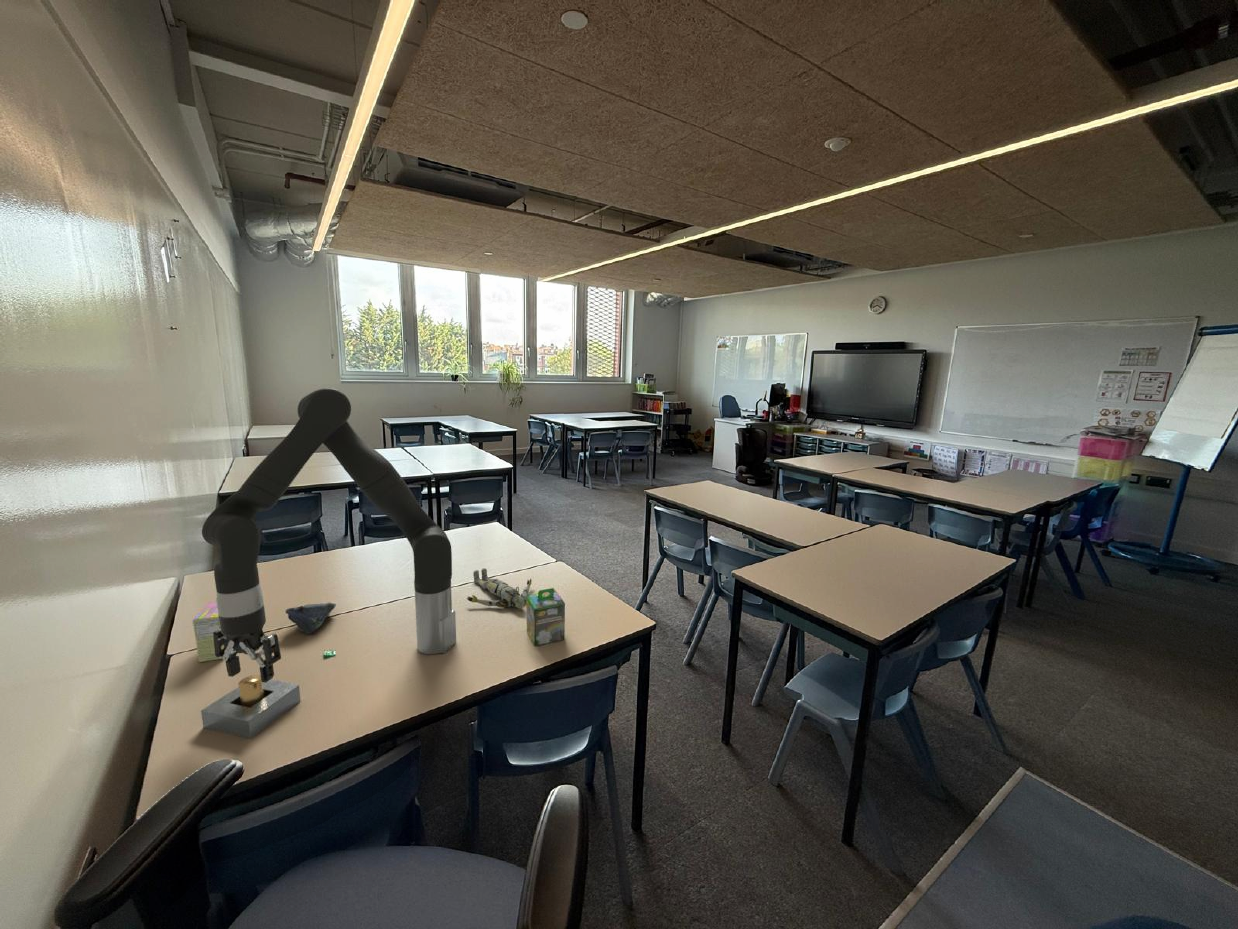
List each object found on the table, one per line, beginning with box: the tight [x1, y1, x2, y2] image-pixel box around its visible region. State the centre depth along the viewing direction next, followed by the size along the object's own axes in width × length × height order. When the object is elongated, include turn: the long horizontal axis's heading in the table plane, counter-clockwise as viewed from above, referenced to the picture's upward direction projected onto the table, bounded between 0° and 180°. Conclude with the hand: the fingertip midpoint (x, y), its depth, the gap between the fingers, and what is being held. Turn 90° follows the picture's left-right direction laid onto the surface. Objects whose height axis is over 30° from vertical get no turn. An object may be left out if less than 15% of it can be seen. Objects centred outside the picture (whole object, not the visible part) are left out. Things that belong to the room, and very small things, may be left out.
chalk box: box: [525, 587, 566, 647], centre depth 139 cm, size 9×9×15 cm
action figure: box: [466, 568, 532, 609], centre depth 164 cm, size 24×6×30 cm
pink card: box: [323, 649, 336, 659], centre depth 128 cm, size 3×3×1 cm
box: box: [192, 600, 224, 663], centre depth 127 cm, size 10×6×12 cm, turn 21°
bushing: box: [238, 674, 264, 708], centre depth 105 cm, size 4×4×8 cm
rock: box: [285, 602, 337, 635], centre depth 142 cm, size 16×8×10 cm
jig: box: [200, 678, 301, 739], centre depth 105 cm, size 12×12×4 cm
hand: (251, 677), depth 104 cm, fingers open, 8 cm apart
